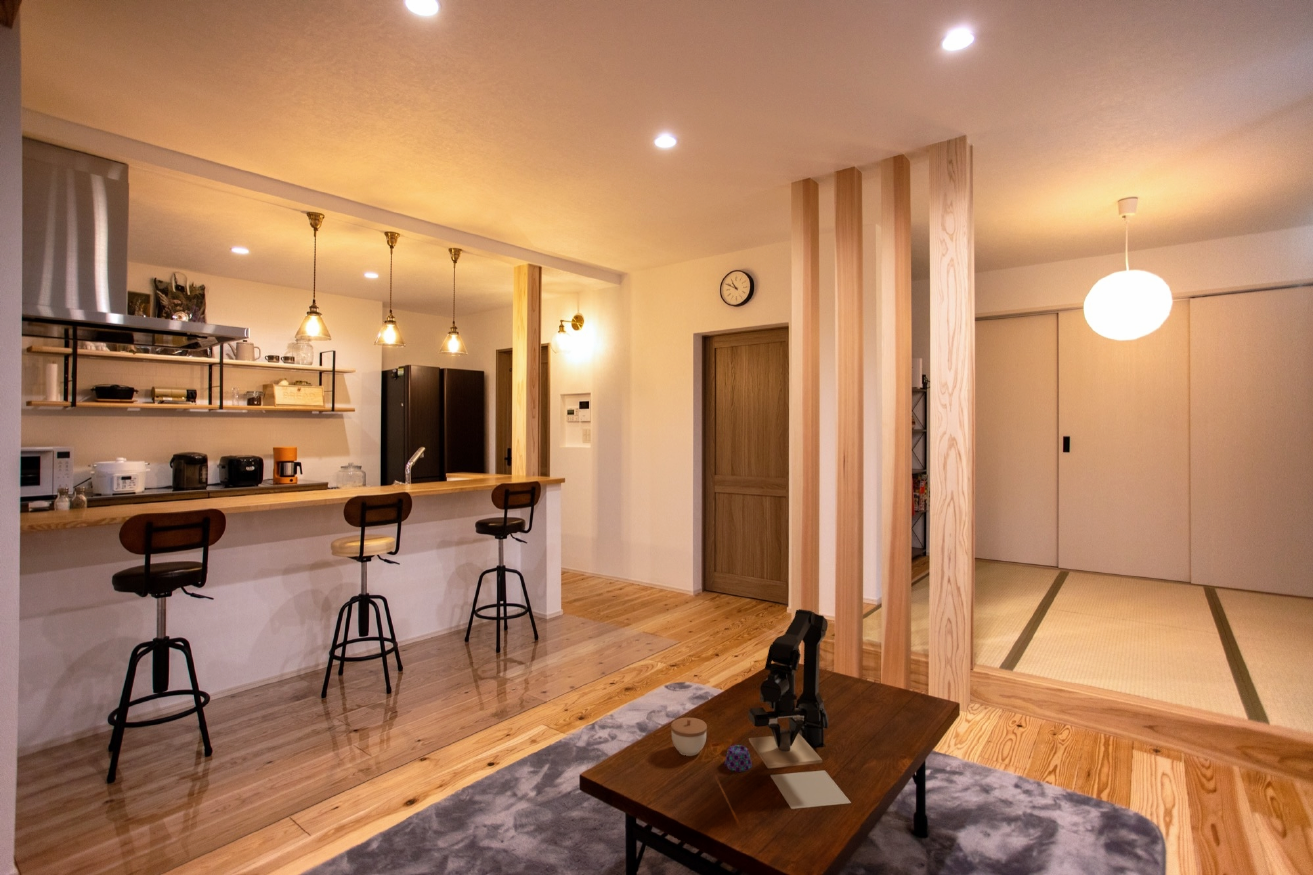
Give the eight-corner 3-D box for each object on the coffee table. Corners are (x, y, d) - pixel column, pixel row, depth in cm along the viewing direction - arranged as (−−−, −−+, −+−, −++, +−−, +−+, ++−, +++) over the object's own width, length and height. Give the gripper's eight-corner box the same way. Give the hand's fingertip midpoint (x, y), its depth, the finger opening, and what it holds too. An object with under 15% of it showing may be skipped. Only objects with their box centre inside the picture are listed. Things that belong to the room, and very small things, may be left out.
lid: (799, 736, 182) (799, 717, 182) (822, 762, 168) (822, 742, 168) (748, 740, 179) (748, 722, 179) (768, 768, 165) (768, 747, 165)
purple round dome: (756, 781, 174) (756, 762, 174) (713, 775, 178) (713, 756, 178) (762, 760, 186) (762, 742, 186) (721, 754, 189) (721, 736, 189)
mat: (824, 772, 179) (824, 770, 179) (851, 805, 163) (851, 802, 163) (770, 777, 176) (770, 775, 176) (791, 810, 160) (791, 808, 160)
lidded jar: (704, 761, 184) (704, 729, 184) (668, 757, 187) (668, 725, 186) (708, 744, 195) (709, 713, 195) (674, 740, 197) (674, 710, 197)
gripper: (804, 675, 183) (804, 729, 183) (741, 679, 180) (741, 735, 180) (821, 690, 172) (821, 748, 172) (755, 695, 169) (755, 754, 169)
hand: (784, 745), depth 174 cm, fingers closed on lid, 3 cm apart
